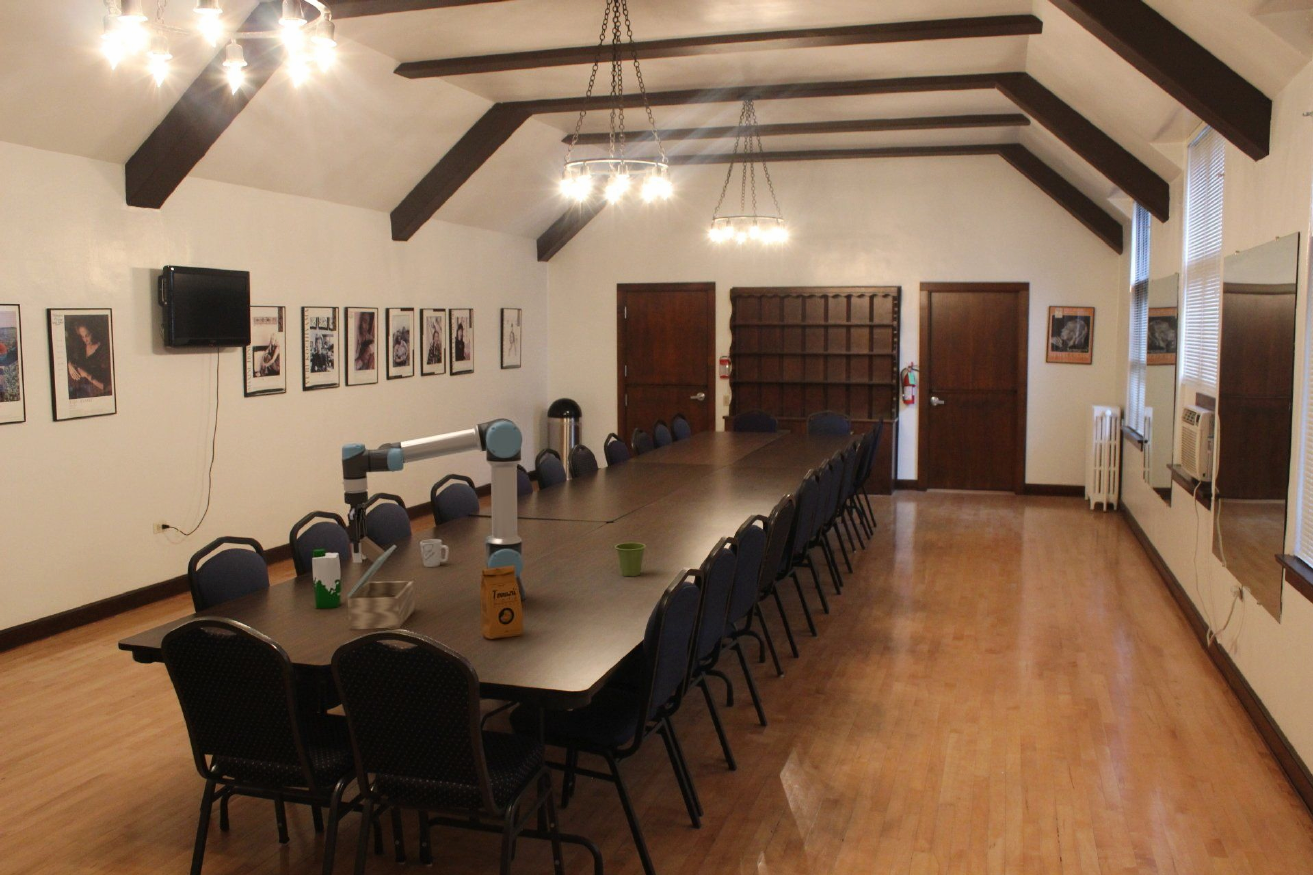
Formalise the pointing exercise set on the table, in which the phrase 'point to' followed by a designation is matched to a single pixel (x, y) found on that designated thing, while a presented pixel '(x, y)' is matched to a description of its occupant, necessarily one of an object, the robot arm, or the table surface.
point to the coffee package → (500, 603)
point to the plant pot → (630, 558)
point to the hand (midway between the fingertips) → (359, 560)
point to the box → (381, 605)
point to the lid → (375, 556)
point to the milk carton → (326, 579)
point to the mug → (433, 552)
